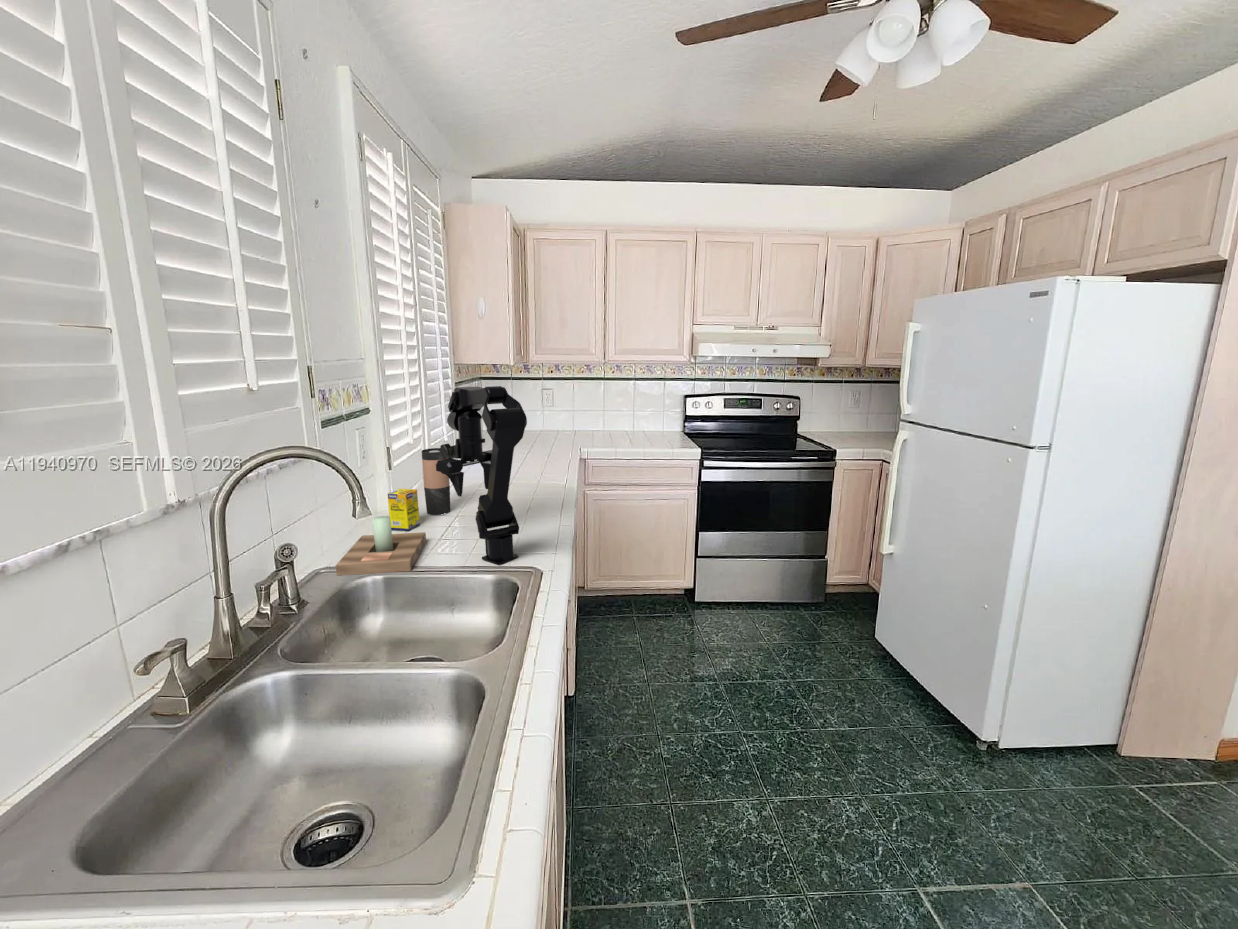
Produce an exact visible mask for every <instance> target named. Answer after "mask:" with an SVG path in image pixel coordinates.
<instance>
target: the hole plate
mask: <svg viewBox="0 0 1238 929" xmlns="http://www.w3.org/2000/svg"><path fill="white" fill-rule="evenodd" d="M392 541H393V551H388V552H376V550H375V540H374V534H367V535H366V534H365V535H361V537H359V538H358V539H357V541H356V542H355V543H354V544H353V545H352V547H350V549H348V551H347V552H346V553H345V554H344V556H342V558H341V559H340V560H339V561H337V563H336V564H335V572H336V576H338V577H339V576H349V575H351V576H352V575H368V574H369V575H371V574H381V573H383V574H385V573H399V572H400V573H401V572H410V571H412V569H413V566H414V564H415V563H416V561H417V560H418V557H419V556H418V555H420V553H421V551H422V549H423V548H424V546H425V545H426V542H427V536H426V532H425V531H424V532H407V533H406V532H405V533H403V532H402V533H392Z"/></svg>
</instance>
